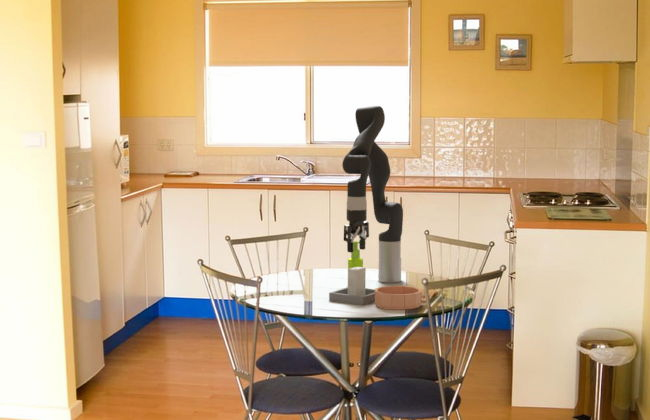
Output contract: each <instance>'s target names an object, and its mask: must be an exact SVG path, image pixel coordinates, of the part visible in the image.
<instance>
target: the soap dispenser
mask: <svg viewBox="0 0 650 420" xmlns="http://www.w3.org/2000/svg"><path fill="white" fill-rule="evenodd" d="M358 244H359V240H358V241H357V240H355V241H353V252H352V253H351V252H350V253H351V255H350V256H351V257H349V258H347V270H348V269H350V268H354V267H364V259H363V258H362V257H360V256H361V251H360V250H361V249H360V248H359V247H358V246H359V245H358Z"/></svg>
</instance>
